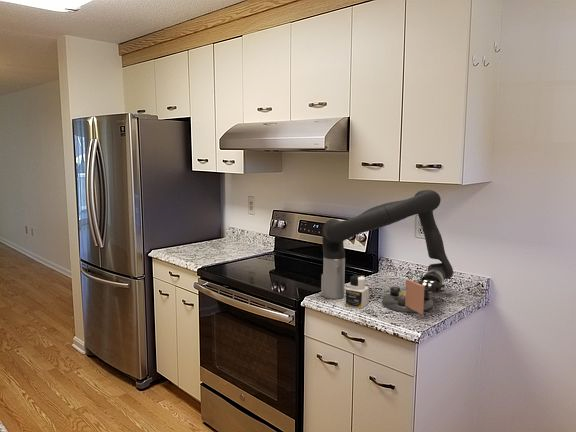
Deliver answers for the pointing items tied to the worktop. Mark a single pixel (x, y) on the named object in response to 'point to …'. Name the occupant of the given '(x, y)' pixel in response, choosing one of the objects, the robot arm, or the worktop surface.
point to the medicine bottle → (357, 292)
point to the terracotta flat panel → (413, 296)
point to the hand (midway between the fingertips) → (423, 292)
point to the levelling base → (392, 303)
